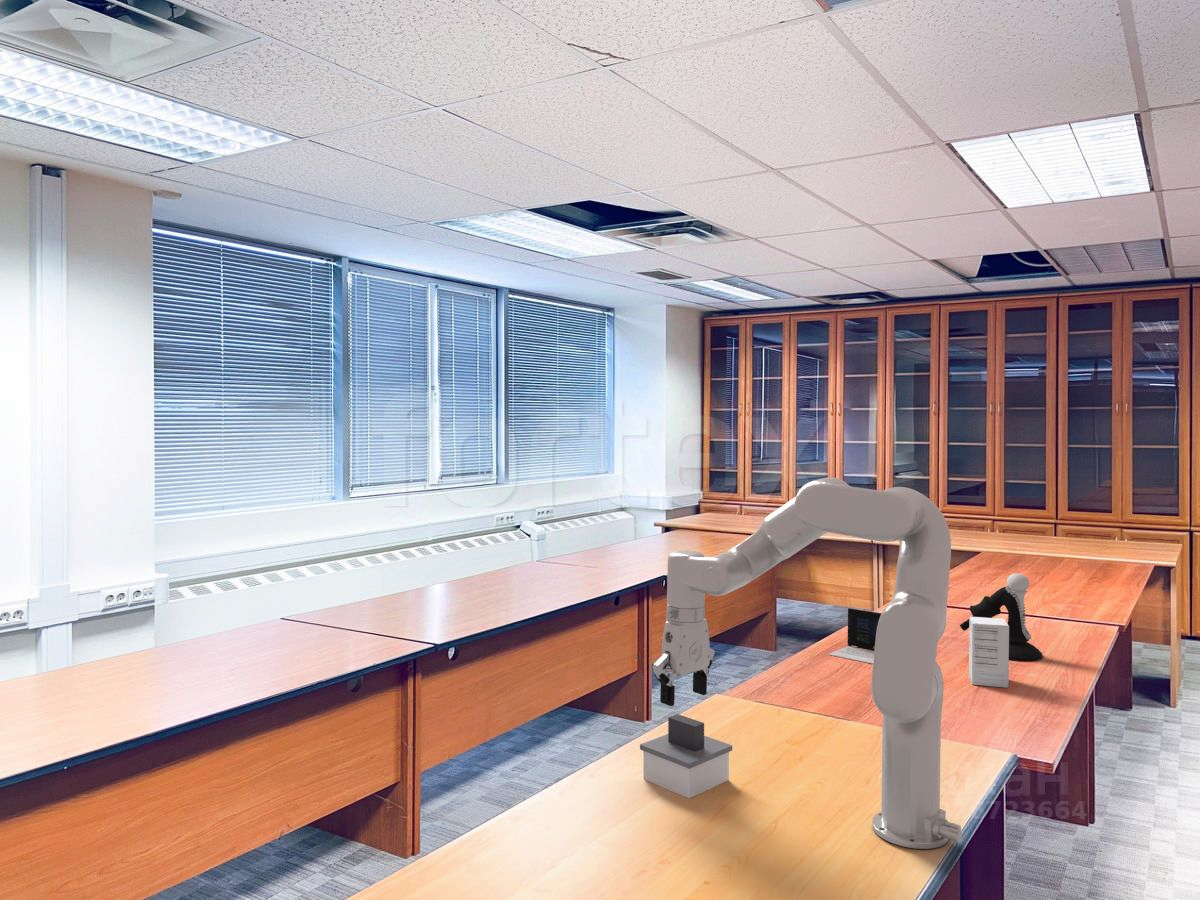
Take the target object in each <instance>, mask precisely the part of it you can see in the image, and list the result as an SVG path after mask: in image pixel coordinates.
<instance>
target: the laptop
mask: <svg viewBox="0 0 1200 900" xmlns="http://www.w3.org/2000/svg"><path fill="white" fill-rule="evenodd" d="M881 614H882V612H877V611H871V610H865V609H860V608H853V607H847V646H844V647H843V648H840V649H838V650H834V651H832V652H831V653H829V654H828V655H829V656H833V657H837V658H841V659H846V660H852V661H856V662H861V663H866V664H870V665H871V664H872V665H873V661H874V651H875V641H876V632H877V626H878V622H879V619H880V616H881Z"/></svg>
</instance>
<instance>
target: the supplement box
mask: <svg viewBox="0 0 1200 900" xmlns="http://www.w3.org/2000/svg"><path fill="white" fill-rule="evenodd" d="M969 618H970V620H969V628H968V629H969V630H968V631H969V650H968V652H969V653H968V655H969V656H968V659H969V660H968V662H969V663H968V666H969V667H968V677H969V680H970V683H971V685H973V686H985V687H997V688H1006V689H1009V677H1010V676H1009V674H1010V673H1009V662H1010V660H1009V626H1008V621H1006V619H1005V618H1000V617H996V618H995V617H992V618H983V617H972V616H969Z"/></svg>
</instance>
